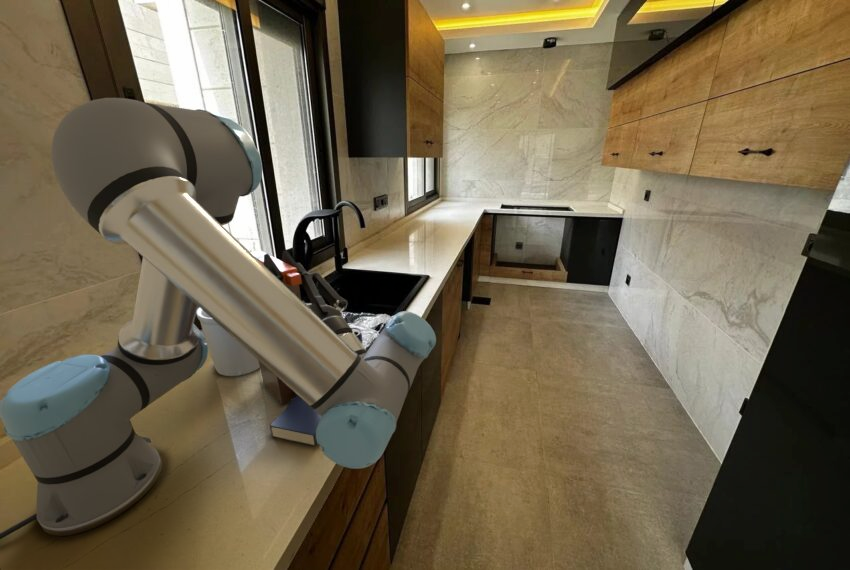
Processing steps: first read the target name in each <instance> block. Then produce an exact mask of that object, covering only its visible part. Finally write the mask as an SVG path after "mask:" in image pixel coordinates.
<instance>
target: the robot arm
mask: <svg viewBox="0 0 850 570" xmlns="http://www.w3.org/2000/svg"><path fill="white" fill-rule="evenodd" d="M50 149H51V150H50V157H51V162H52V168H53V173H54V176H55V178H56V181H57V183H58V185H59V187H60V189H61V191H62V193H63V194H64V196H65V197H66V199H67V201H68V202H69V204H70V206H71V207H72V208H73V209H74V210H75V212H77V214H78V215H79V216H80V217H81V218H82V219H83V220H84V221H85V222H86V223H88V225H89V226H90V227H92V228H93V229H94V230H95V231H96V232H97V233H98V234H99V235H101V236H102V237H103V238H104V239H105V240H106V241H108V242H109V243H112V244H116V245H129V246H130V247H132V249H134V250H135V251H136V252H137V253H138V254H139V255H140V256H141V257H142V258H141V266H140V272H139V278H138V285H137V292H136V298H135V303H134V304H135V305H134V310H133V317H132V319H130V320H129V321H126V323H125V324H124V325H123V326H121V328H120V330H119V333H118V335H117V337H118V338H117V345H116V346H115V348H113V349H111V350H109V351H107V352H104V353H103V354H101V355H98V354H79V355H74V356H71V357H67V358H65V359H64V360H62V361H60V360H57V361H54V362H51V363H49V364H46V365H45V366H43V367H40V368H38V369H36V370H35V371H32V372H30V373H29V374H28V375H26V376H24V377H23V378H21V379H20V380H18V381H17V382H16V383H15V384H13V385H12V386H11V387H9V389H8V390H7V391H6V392H5V393H4V395H3V397H2V398H1V400H0V419H1V421H2V423H3V427H4V433H5V434H6V436H7V437H8V438H9V439H11V440H12V442H13V443H14V445H15V447H16V449H17V450H18V452H19V453H20V455H21V456H22V458H23V460H24V461H25V463H26V465H27V466H28V468H29V470H30V472H31V473H32V474H33V476H34V478H35V480H36V482H37V490H36V510H35V514H33V515H30V516H29V517H27V518H26V519H24V520H21V521H20V522H18V523H16V524H14V525H13V526H11V527H9V528H7V529H5V530H4V531H2V532H0V540H2V539H3V538H6V537H7V536H9V535H11V534H12V533H14V532H16V531H17V530H20V529H22V528H23V527H25V526H27V525H29V524H31V523H32V522H34V521H36V520H37V522H38V524H39V525H40V526H41V529H42V530H43V531H44V532H45V533H46V534H49V535H51V536H58V537H59V536H62V537H63V536H64V537H65V536H71V535H76V534H80V533H84V532H87V531H90V530H92V529H95V528H97V527H100V526H102V525H103V524H106V523H107V522H110V521H111V520H113V519H115V518H117V517H119V516H120V515H122V514H123V513H125V512H126V511H127V510H129V509H130V508H131V507H133V506H134V505H135V504H137V502H139V501H140V500H141V499H142V498H144V496H145V495H146V494H147V493H148V492H149V491H150V490H151V489H152V488H153V486H154V485H155V484H156V482H157V481H158V479H159V478H160V475H161V473H162V469H163V461H162V458H161V455H160V454H159V453H160V452H159V451H158V450H157V449H156V448H155V446H153V445H152V442H151V439H150V437H148V436H147V437H146V436H141V435H139V434H137V433H136V431H135V429H134V426H133V424H132V420H131V419H132V418H133V417H134V416H136V415H137V414H139V413H140V412H141V411H143V410H144V409H146V408H147V407H148V406H150V405H152V404H153V403H154V402H156V401H157V400H158V399H160V398H162V396H164V395H165V394H167V393H168V392H170V391H172V390H173V389H174V388H175V387H177V386H179V385H180V384H181V383H183V382H185V381H187V380H189V379H190V378H191V377H193V375H195V374H196V373H197V371H199V370H200V369H201V368H203V366H204V365H205V363H206V361H207V358H208V356H209V355H208V354H209V348H208V345H207V342H204V341H206V339H205V335H204V333H203V331H201V330H200V329H199V328H198V327H197V325H196V324H195V319H196V317H197V314H196V312H197V310H198V308H199V307H200V308H201V309H202V310H203V311H204V312H205V313H207V314H208V315H209V316H210V317H211V318H212V319H213V320H214V321H216V322H217V323H218V324H219V325H220V326H221V327H222V328H223V329H225V330H226V331H227V332H228V333H229V334H230V335H231V336H232V337H233V338H235V339H236V340H237V341H238V342H239V343H240V344H241V345H242V346H244V347H245V348H246V349H247V350H248V351H249V352H250V353H251V354H253V355H254V356H255V357H256V358H257V359H258V360H259V361H260V362H261V363H263V364H264V365H265V366H266V367H267V368H268V369H269V370H270V371H272V372H273V373H274V374H275V375H276V376H277V377H278V378H279V379H281V380H282V381H283V382H284V383H285V384H286V385H287V386H288V387H289V388H291V389H292V390H293V391H294V392H295V393H296V394H297V395H298V396H300V397H301V398H302V399H303V400H304V401H305V402H306V403H307V404H309V405H310V406H311V407H312V408H313V409H314V410H315V411H316V412H317V413H318V414H319V415H320V416H321V418H320V421H319V424H318V426H317V429H316V439H317V443H318V444H317V445H319V446H320V447H321V452H322V454H323V455H324V456H325V457H326V458H327V459H328V460H330V461H331V462H332V463H335V464H337V465H338V466H340V467H343V468H348V469H353V470H354V469H355V470H358V469H366V468H368V467H371V466H372V465H374V464H376V463H377V462H378V460H379V459H381V457H382V456H383V454H384V452H385V450H386V448H387V447H388V444H389V442H390V440H391V438H392V436H393V435H394V433H395V432H396V429H397V422H398V419H399V417H400V414H401V411H402V408H403V406H404V403H405V400H406V398H407V396H408V395H409V392H410V389H411V387H412V384H413V383H414V379H415V377H416V375H417V372H418V370H419V368H420V365H421V364H422V363H423V361H424V360H425V359H428V357H429V354H430V353H431V351H432V350H433V349H434V348H435V346H436V344H437V336H436V332H435V331H434V329H433V328H432V326H431V325H430V324H429V322H427V321H426V320H425V319H424V318H423V317H421V316H420V315H418V314H417V313H414V312H411V311H405V310H404V311H403V310H402V311H399V312H397V313H396V314H394V316H393V317H392V318H391V319H390V320H389V322H386V323H385V325H384V328H383V329H382V330H381V332H380V333H379V334H378V336H377V337H376V338H375V340H374V341H373V343H371V345H370V346H369V348H368V349H367V348H366V347H365V345H364V343H363V344H362V343H361V341H360V340H359V339H358V337H357V336H356V334H354V333H353V331H352V329H351V328H352V327H351V326H350V324H348V322H347V321H346V320H345V318H344V317H343V316H342V313H344V312H346V309H347V306H348V304H349V302H348V300H347V299H345V298H343V297H342V296H340V295H339V294H338V292H336V290H335V289H334V288H333V287H332V286H331V285H330V283H328V282H327V280H326V279H325V278H324V277H323V276H322V274H320V272H319V271H314V272H311V273H310V272H308V271H307V270H306V269H305V268H304V266H303V265H302V264H301V263H300V262H298V261H297V262H296V261H295V259H294V258H293V257H292V255H291V254H290V252H289V251H288V250H282V257H281V261H283V262H285V263H287V264H289V265H291V266H293V267H295V268H297V273H299V274H301V281H302V284H300V285H301V286H303V289H304V291H305V293H306V295H307V298H308V299H309V302H310V304H308V303H306V302H305V301H304V300H302V299H301V300H300V299H299V298H298V297H297V296H296V295H295V294H294V293H293V292H292V291H291V290H290V289H289V287H288V286H287V285H286V284H285V283H284V282H283V275H282V273H281V272H280V270H279V269H278V267H277V266H276V264H275V263H274V261H273V260H272V258H271V257H270V256H269V255H270V254H269V253H267V254H264V265H263V264H262V263H261V262H260V261H259V260H258V259H257V258H256V257H255V256H254V255H252V254H251V253H250V250H249V249H247V248H246V246H244V245H243V244H242V243H241V242H240V241H239V240H238V239H237V238H236V237H235V236H234V235H233V234H232V233H230V232H229V230H227V229H226V228H225V227H224V226H226V225H227V224H229V223H231V222H232V221H233V220H234V217H235V214H236V210H237V206H238V203H239V199H240V198H241V197H246V196H248V195H250V194H251V193H253V192H254V191H256V190H257V188H258V187H259V185H260V184H261V181H262V178H263V163H262V162H263V161H262V157H261V154H260V151H259V150H258V149H257V147H256V144H255V141H254V140H253V138H252V136H251V135H250V134H249V133H248V131H247V130H246V129H245V128H244V127H243V126H242V125H240V124H239V123H238V122H236V121H235V120H234V119H231V118H229V117H227V116H224V115H221V114H217V113H213V112H211V111H208V110H205V109H191V108H184V107H177V106H171V105H164V104H159V103H151V102H145V101H141V100H136V99H132V98H124V97H103V98H98V99H97V98H96V99H92V100H90V101H87V102H84V103H82V104H79V105H77V106H75V107H74V108H73V109H72V110H71V111H69V112H68V113H66V115H65V116H63V118H62V119H61V120H60V122H59V123H58V126H56V129H55V130H54V132H53V136H52V142H51V147H50ZM325 300H326V301H327V303H328V304H329V305H328V304H327V303H326V302H325Z"/></svg>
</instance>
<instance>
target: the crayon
mask: <svg viewBox="0 0 850 570" xmlns="http://www.w3.org/2000/svg"><path fill="white" fill-rule="evenodd" d="M249 252H250V251H249ZM250 253H251V254H252V255H254V256H255V257H256V258H257V259H258V260H259V261H260V262H261V263H262V264H263V265H264V254H268V253H266V252H265V251H263V250H257V251H251V252H250ZM269 256H270V257H271V258H272V260H273V261H274V263H275V264H276V266H277V267H278V269H279V270H280V272H281V273H282V275H283V282H284V283H285V284H286V285H290V286H296V285H299V286H300V285H301V284H302V280H301V274H299V273H297V268H295V267H293V266H291V265H289V264H287V263H285V262H283V261H282V259H279V258H277V257H275V256H273V255H271V254H269Z"/></svg>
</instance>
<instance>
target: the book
mask: <svg viewBox="0 0 850 570" xmlns="http://www.w3.org/2000/svg"><path fill="white" fill-rule="evenodd" d="M320 418H321V416H320V415H319V414H318V413H317V412H316V411H315V410H314V409H313V408H312V407H311V406H310V405H309V404H307V403H306V402H305V401H304V400H303V399H302V398H301V397H300V396H298V395H297V396H296V397H295V398H294V399H292V400H290V402H289V403H288V404H287V406H286V407H285V408H284V409H283V411H281V412H280V413H279V415H278V416H277V417H276V418H275V419H274V421H272V422H271V423H270V425H269V427H270V431H271V436H272V437H273V438H277V439H280V440H287V441H290V442H296V443H299V444H304V445H308V446H314V447H317V446H318V445H319V444H318V443H317V439H316V429H317V426H318V424H319V421H320Z"/></svg>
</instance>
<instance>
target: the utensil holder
mask: <svg viewBox="0 0 850 570" xmlns="http://www.w3.org/2000/svg"><path fill="white" fill-rule="evenodd" d="M196 318H197V320H198V321H199V323H200V327H201V329H202V333H203V335H204V337H205V341H206V342H205V343H207V346H208V352H209V354H210V357H211V360H212V362H213V366H214V368H215V370H216V372H217V373H218V374H219V375H220V376H226V377H238V376H242V375H247V374H250V373H252V372H255V371H257V370H258V369H260V366H259V361H258V359H257V358H256V357H255V356H254V355H253V354H251V353H250V352H249V351H248V350H247V349H246V348H245V347H244V346H242V345H241V344H240V343H239V342H238V341H237V340H236V339H235V338H233V337H232V336H231V335H230V334H229V333H228V332H227V331H226V330H225V329H223V328H222V327H221V326H220V325H219V324H218V323H217V322H216V321H214V320H213V319H212V318H211V317H210V316H209V315H208V314H207V313H205V312H204V311H203V310H202V309H201V308H200V307H199V306H198V309H197V312H196Z"/></svg>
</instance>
